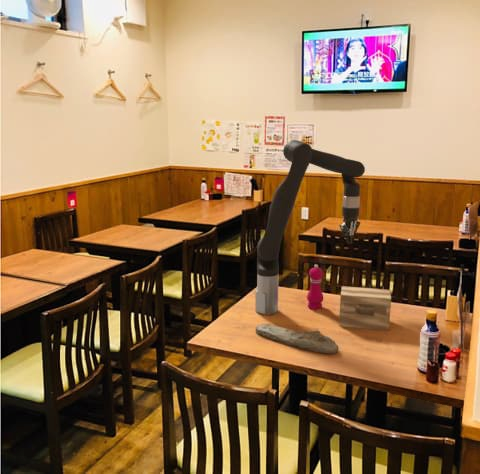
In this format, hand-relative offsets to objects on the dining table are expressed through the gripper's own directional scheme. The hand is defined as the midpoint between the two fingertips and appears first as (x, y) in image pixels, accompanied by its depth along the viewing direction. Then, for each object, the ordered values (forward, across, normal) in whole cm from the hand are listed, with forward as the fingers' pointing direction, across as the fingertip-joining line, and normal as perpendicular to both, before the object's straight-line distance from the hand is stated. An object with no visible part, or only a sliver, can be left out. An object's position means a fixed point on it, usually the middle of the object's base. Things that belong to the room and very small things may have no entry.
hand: (349, 243), depth 232 cm
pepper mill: (+27, -19, +3) cm, 33 cm away
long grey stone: (+28, -52, -15) cm, 60 cm away
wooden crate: (+27, -18, -22) cm, 39 cm away
